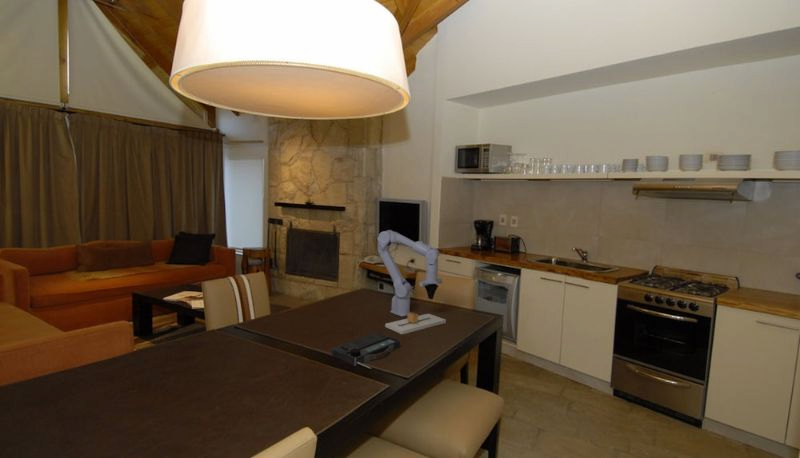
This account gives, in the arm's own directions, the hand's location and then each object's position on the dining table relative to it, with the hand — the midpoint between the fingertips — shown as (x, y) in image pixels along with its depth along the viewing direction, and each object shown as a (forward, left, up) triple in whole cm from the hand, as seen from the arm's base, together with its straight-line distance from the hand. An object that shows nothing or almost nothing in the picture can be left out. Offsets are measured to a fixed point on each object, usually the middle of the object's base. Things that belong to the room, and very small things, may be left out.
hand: (430, 298), depth 203 cm
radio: (+21, -51, -10) cm, 56 cm away
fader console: (+5, -14, -9) cm, 18 cm away
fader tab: (+5, -16, -7) cm, 19 cm away
